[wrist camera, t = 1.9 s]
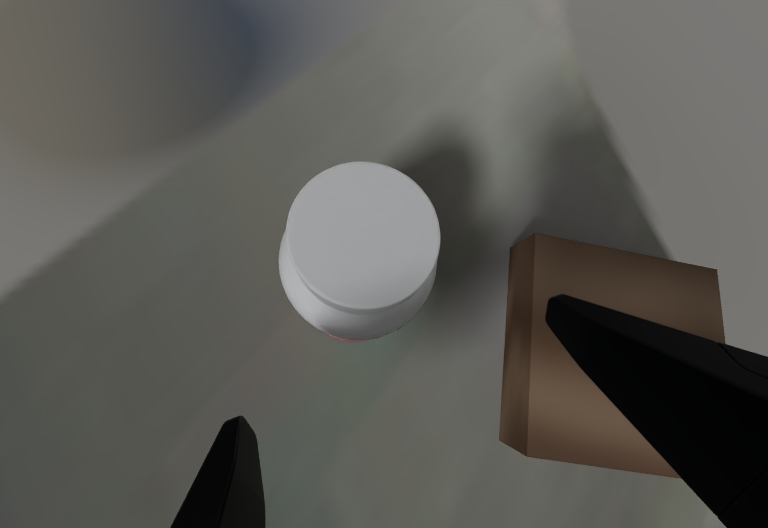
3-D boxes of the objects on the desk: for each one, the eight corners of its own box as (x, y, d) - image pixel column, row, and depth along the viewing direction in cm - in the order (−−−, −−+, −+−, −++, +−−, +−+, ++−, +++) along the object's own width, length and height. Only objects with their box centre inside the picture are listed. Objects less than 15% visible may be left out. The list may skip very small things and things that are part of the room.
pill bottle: (328, 228, 21) (316, 109, 11) (416, 266, 21) (490, 186, 11) (284, 318, 19) (215, 283, 9) (379, 359, 20) (424, 372, 9)
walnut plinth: (684, 467, 20) (741, 487, 17) (499, 440, 19) (526, 456, 16) (670, 279, 23) (716, 269, 20) (510, 247, 22) (535, 233, 20)
